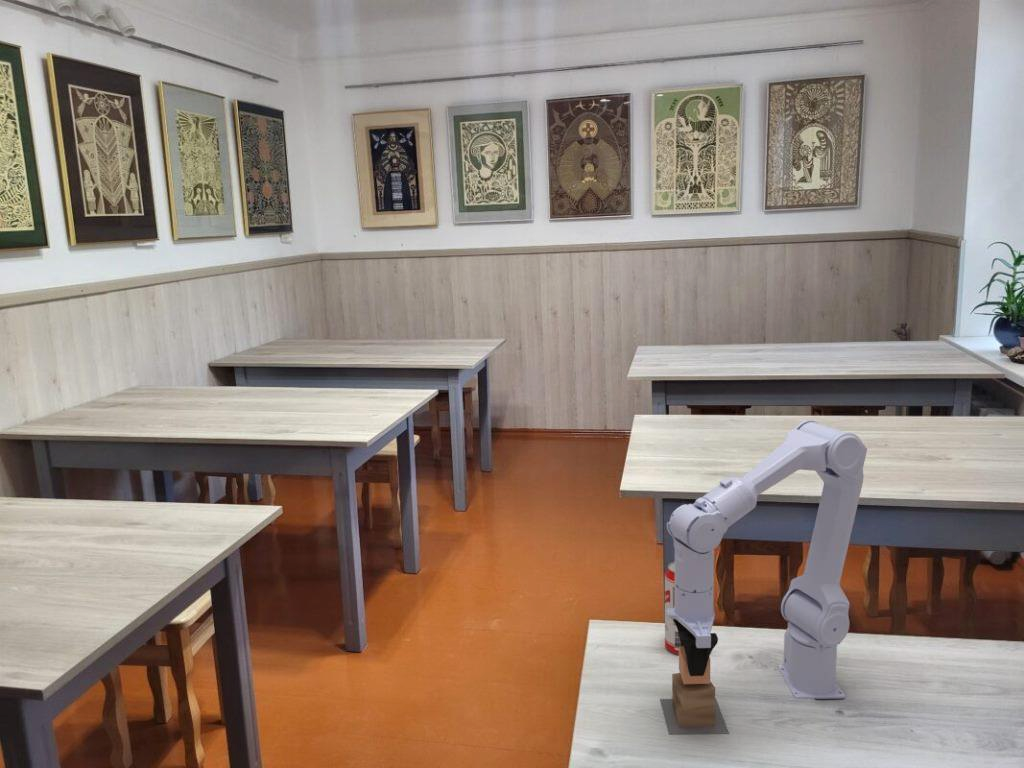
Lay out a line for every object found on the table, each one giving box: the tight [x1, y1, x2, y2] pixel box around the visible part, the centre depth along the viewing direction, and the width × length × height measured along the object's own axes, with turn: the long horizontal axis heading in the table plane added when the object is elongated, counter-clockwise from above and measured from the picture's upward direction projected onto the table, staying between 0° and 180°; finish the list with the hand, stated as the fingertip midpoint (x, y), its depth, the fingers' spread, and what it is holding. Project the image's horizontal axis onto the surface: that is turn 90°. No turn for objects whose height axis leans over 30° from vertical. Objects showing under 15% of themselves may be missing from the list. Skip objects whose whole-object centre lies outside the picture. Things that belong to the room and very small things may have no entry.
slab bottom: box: [671, 690, 715, 727], centre depth 121 cm, size 6×6×3 cm
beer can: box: [664, 561, 681, 656], centre depth 139 cm, size 6×6×16 cm
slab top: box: [671, 672, 716, 710], centre depth 120 cm, size 5×5×3 cm
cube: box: [678, 646, 711, 684], centre depth 120 cm, size 4×4×4 cm
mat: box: [659, 697, 730, 736], centre depth 121 cm, size 9×9×1 cm
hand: (693, 666), depth 120 cm, fingers closed on cube, 4 cm apart
